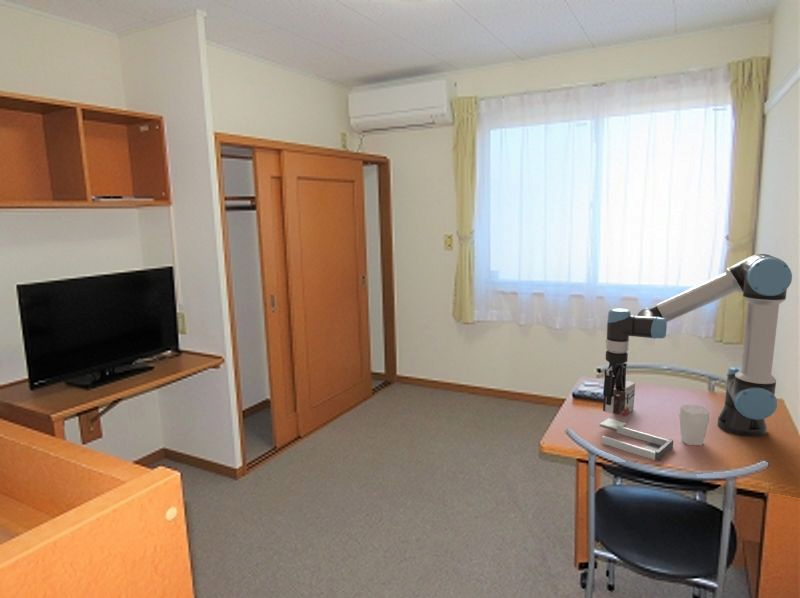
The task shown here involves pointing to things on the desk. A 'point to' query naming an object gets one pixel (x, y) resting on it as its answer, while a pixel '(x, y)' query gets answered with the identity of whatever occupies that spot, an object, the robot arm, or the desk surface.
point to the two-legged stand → (652, 450)
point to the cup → (693, 424)
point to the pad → (612, 424)
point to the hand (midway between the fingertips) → (613, 409)
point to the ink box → (629, 397)
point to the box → (617, 402)
